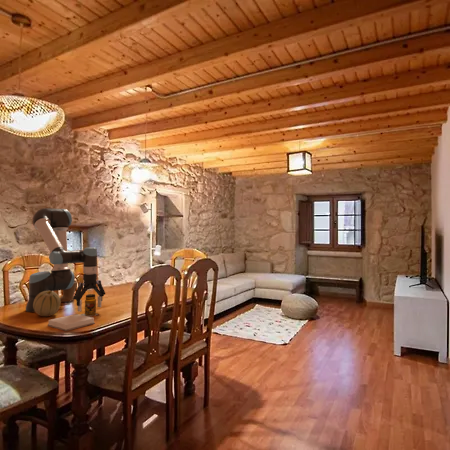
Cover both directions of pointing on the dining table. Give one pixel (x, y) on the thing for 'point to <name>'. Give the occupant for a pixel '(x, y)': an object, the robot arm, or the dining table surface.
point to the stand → (71, 322)
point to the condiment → (90, 305)
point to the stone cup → (69, 293)
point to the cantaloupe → (46, 303)
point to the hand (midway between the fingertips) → (89, 309)
